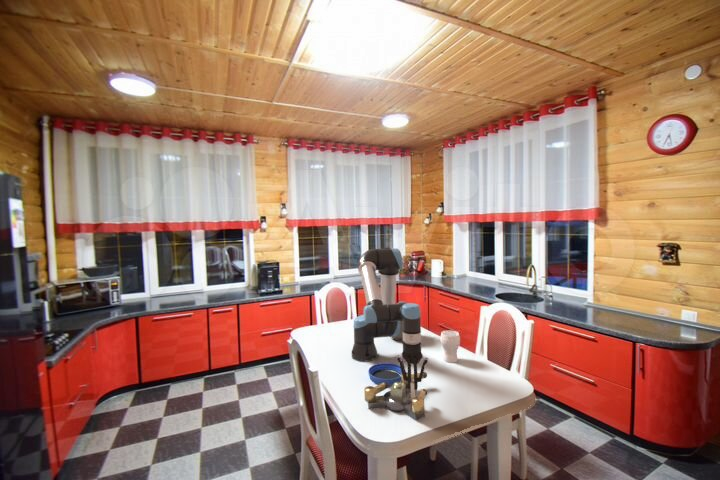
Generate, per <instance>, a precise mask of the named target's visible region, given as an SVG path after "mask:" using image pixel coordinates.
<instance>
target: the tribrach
mask: <svg viewBox="0 0 720 480" xmlns="http://www.w3.org/2000/svg"><path fill="white" fill-rule="evenodd" d="M390 386H391V387H389V388H390V390H388V391H386V392H385V393H384V394H383V395H376V400H375V401H374V402H367V405H368V409H369V410H372V409H374V408H375V409H386V410H388V411H391V412H393V413H404V414H406V415H407V416H408V417H410V418H411V419H413V420H414V421H417V420H420V419H422V418H424V417H425V416H426V412H425V411H426V410H425V411H424V413H422V414H416V413H414V412H413V411H412V398H411V390H410V389H408V387H405V384H402V383H401V382H394V384H393V385H390ZM370 408H372V409H370Z"/></svg>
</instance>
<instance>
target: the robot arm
mask: <svg viewBox="0 0 720 480" xmlns="http://www.w3.org/2000/svg"><path fill="white" fill-rule="evenodd" d="M403 261H404V259H403V256H402V252H401V251H400V249H399V248H395V247H394V248H393V247H390V248H389V247H388V248H387V247H386V248H370V249H367V250H366V251H365V252H364V253H362V255H360V258H359V260H358V262H357V270H358V273H359V275H360V276H361V282H362V288H363V292H364V296H365V298H364V299H365V302H366V305H365V306H363V314H361V315H359V316H356V317H355V318H354V319H353V340H354V341H353V346H352V349H351V358H352V359H353V360H355V361H359V362H367V361H368V362H369V361H373V360H375V359H376V358H377V357H378V350H377V347H376V344H375V338H376V339H377V338H388V337H389V338H392V336H397V335H398V334H399V331H400V321H402V327H403V340H402V341H403V342H402V353H401V354H400V355H397V356H396V360H397V362H398V364H399V366H400V368H401V372H402V376H403V379H404V380H405V381H407V382H408V389H410V390H411V398H413V397H416V391H417V390H418V387H419V386H418V384H419V383H422V381H423V379H422V376H423V372H425V367H426V365H427V364H428V360H429V359H428V358H427V357H425V356H423V353H422V329H421V327H422V325H421V324H422V323H421V315H422V313H421V306H420V305H419V304H418V303H413V302H409V303H408V302H406V301H399V302H397V303H396V293H397V292H396V291H397V287H396V286H397V276H398V275H399V273H400V270H402V269H403V267H404V262H403ZM377 272H378V274H379V275H380V285H379V280H378V278H377ZM404 361H405V362H406V367H407V370H406V367H405V363H404ZM420 362H421V366H420V371H419V373H420V375H419V377H418V378H417V373H418V364H419V363H420ZM412 365H413V374H414V380H411V374H412ZM406 372H408V377H407V374H406Z"/></svg>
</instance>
